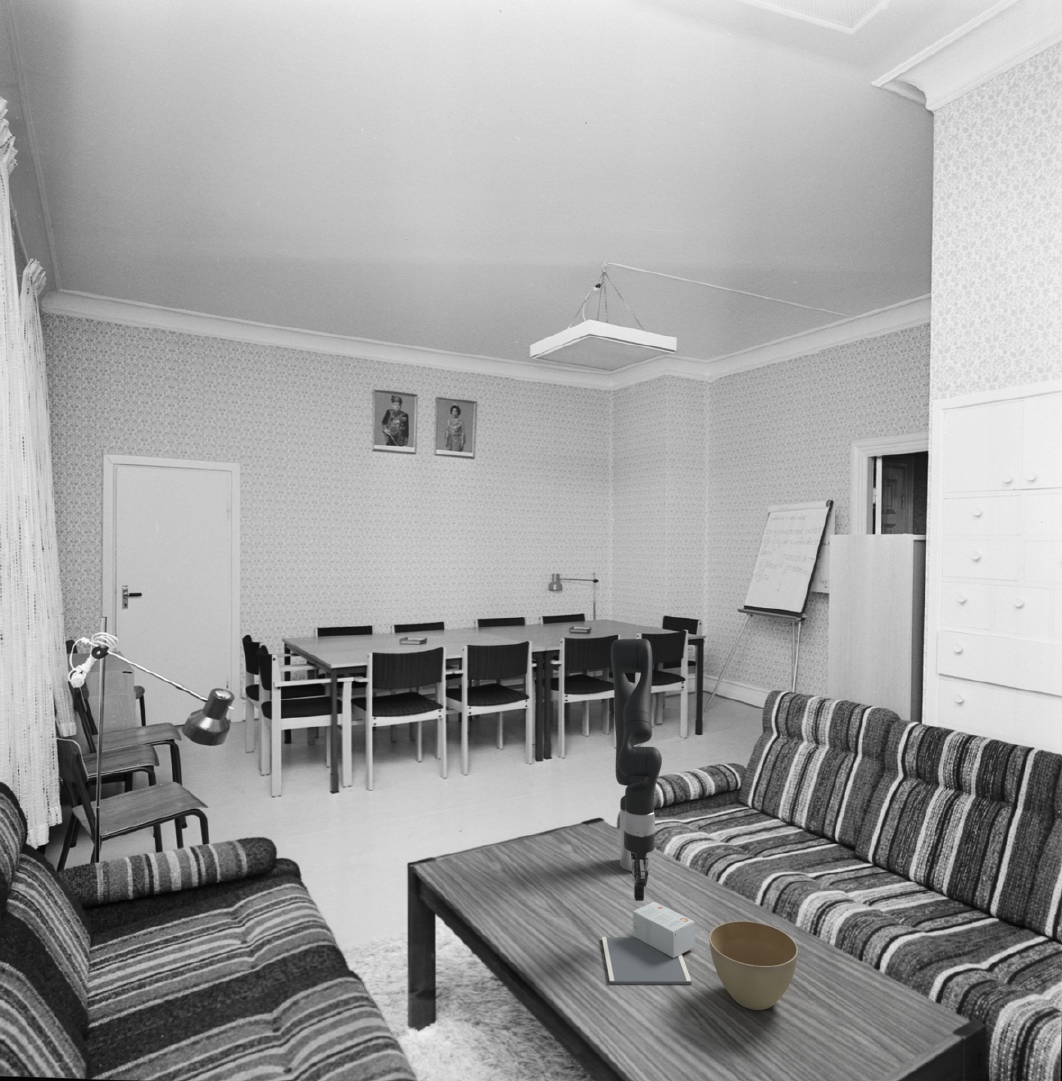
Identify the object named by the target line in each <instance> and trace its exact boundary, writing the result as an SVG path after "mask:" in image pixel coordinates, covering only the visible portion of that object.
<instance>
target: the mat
mask: <svg viewBox="0 0 1062 1081" xmlns="http://www.w3.org/2000/svg"><path fill="white" fill-rule="evenodd" d="M601 942H602V948H603V952H604V953H603V954H604V959H605V960H604V961H605V964H606V968H607V969H606V971H607V975H608V983H609V985H692V979H691V976H690V974H689V971H688V968H687V965H686V963H685V959H684V957H683V954H681V955H679V956H677V957H675V958H672V957H670V956H668V955H667V954H665V953H663V952H661V951H659V950H657V949H656V948H654V947H652V946H650V945H648V944H647V943H645V942H643V941H641V940H639V939H637V938H636V937H634V936H633V937H629V936H627V937H619V936H618V937H615V936H614V937H613V936H611V937H608V936H602V937H601Z"/></svg>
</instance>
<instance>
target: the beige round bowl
mask: <svg viewBox="0 0 1062 1081" xmlns="http://www.w3.org/2000/svg"><path fill="white" fill-rule="evenodd" d="M708 940H709V947H710V948H709V949H710V953H711V959H712V962H713V963H712V964H714V965H713V966H714V968H715V971H716V973H717V974H716V975H718V977H719V980H720V981H721V983H722V985H723V987H724V988H725V990H726V991H727V992H728V993H729V995H730V996H731V997H732V999H733V1000H734V1001H735V1002H736V1003H737V1004H738V1005H740V1006H741V1007H744V1008H746V1009H750V1010H753V1011H754V1010H755V1011H763V1010H767V1009H770V1008H772V1007H773V1006H774V1005H775V1004H776V1003H777V1002H778V1001H779V1000H780V999H781V998H782V997H783V996H784V994H785V993H786V991H787V990H788V989H789V987H790V984H792V980H793V977H794V975H795V971H796V967H797V961H798V955H799V952H798V949H799V948H798V945H797V943H796V941H795V940H794V939H793V938H792V937H791V936H790V935H789V934H788V933H786V932H785V931H783V930H781V929H779V928H777V927H775V926H772V925H769V924H766V923H762V922H757V921H752V920H750V921H749V920H735V921H728V922H724V923H721V924H719V925H717V926H715V927H714V928H713V929H712V930H711V931H710V933H709V939H708Z"/></svg>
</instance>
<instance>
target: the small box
mask: <svg viewBox="0 0 1062 1081" xmlns="http://www.w3.org/2000/svg"><path fill="white" fill-rule="evenodd" d="M632 936H633V937H636V938H637V939H639V940H641V941H643V942H645V943H647V944H648V945H650V946H652V947H654V948H656V949H657V950H659V951H661V952H663V953H665V954H667V955H668V956H670V957H672V958H675V957H677V956H679V955H681V954H682V955H683V954H685V953H686V952H689V951H690V950H692V949H694V948H695V947H696V921H695V920H692V919H691V918H690V917H689V918H688V917H687V916H684V915H683V914H681V913H678V912H676V911H675V910H672V909H670V908H668V907H666V906H664V905H662V904H661V903H658V902H656V901H652V902H650V903H648V904H646V905H643V906H641V907H639V908H637V909H635V910H633V911H632Z"/></svg>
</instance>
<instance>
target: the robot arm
mask: <svg viewBox="0 0 1062 1081" xmlns="http://www.w3.org/2000/svg"><path fill="white" fill-rule="evenodd" d="M651 645H652V644H651V642H650V641H649V640H648V639H646V638H620V639H615V640H613V642H612V644H611V646H610V662H611V670H612V678H613V680H612V681H613V691H614V692H613V696H614V697H613V698H614V700H613V706H614V707H613V708H614V710H613V712H614V713H613V716H614V730H615V778H616V781H617V783H618V784H619V785H621V786H623V787H624V786H626V787H625V790H624V792H625V793H624V795H623V796H622V797H621V798H620V802H619V804H620V805H619V806H620V807H619V808H620V810H619V814H620V815H619V818H620V819H619V820H620V823H619V824H620V825H619V828H620V829H619V831H620V832H619V833H620V834H619V865H620V868H622V869H623V870H625V871H628V872H631V875H632V878H633V879H632V882H633V897H634V898H633V899H634V900H635V901H637V902H643V901H644V900H645V888H646V887H647V882H648V879H649V871H650V869H651V868H652V852H653V851H654V850H655V847H656V818H655V817H656V816H655V791H656V787H657V782H658V778H659V776H660V772H661V769H662V762H663V761H662V760H663V758H662V757H663V756H662V754H661V751H660V750H659V749H658V748H656V747H654V746H641V745H640V744H645V743H648V742H649V741H650V740H651V739H652V737H653V728H652V727H653V726H652V724H653V723H652V714H651V698H652V687H653V685H652V683H653V650H652V646H651ZM635 673H636V674H637V673H638V674H640V677H639V680H638V682H637V683H636V686H635V687H633V686H632V684H631V682H630V681H629V679H628V677H627V676H626V674H635ZM636 745H637V746H636ZM638 745H640V746H638Z"/></svg>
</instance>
